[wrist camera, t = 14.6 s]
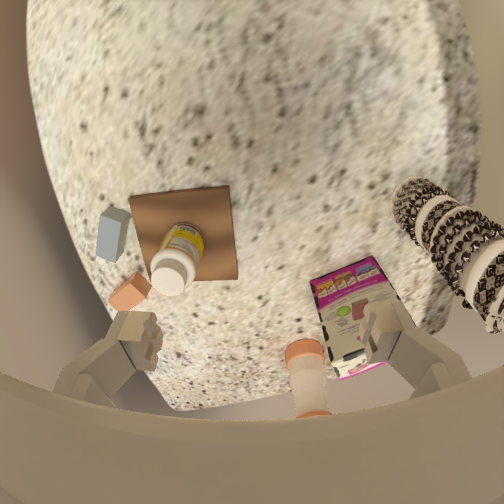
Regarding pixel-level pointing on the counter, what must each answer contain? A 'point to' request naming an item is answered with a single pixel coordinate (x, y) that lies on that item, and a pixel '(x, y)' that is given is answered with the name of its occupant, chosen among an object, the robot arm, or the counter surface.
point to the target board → (194, 213)
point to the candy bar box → (349, 312)
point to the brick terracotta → (130, 292)
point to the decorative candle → (455, 245)
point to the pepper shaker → (307, 378)
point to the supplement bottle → (177, 259)
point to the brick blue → (112, 233)
